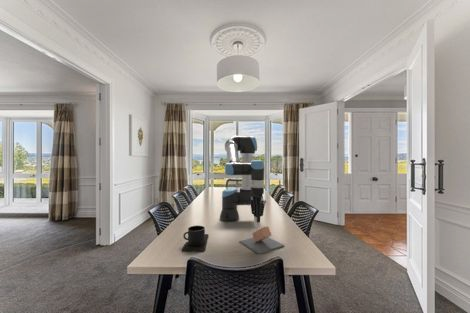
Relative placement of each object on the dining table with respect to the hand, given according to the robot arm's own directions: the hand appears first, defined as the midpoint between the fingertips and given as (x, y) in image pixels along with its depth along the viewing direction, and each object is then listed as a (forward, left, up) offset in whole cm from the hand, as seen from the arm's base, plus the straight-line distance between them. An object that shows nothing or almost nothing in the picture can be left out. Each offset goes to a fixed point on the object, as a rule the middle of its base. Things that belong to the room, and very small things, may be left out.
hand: (257, 227), depth 131 cm
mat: (+4, 0, -9) cm, 9 cm away
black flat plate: (-19, -31, -9) cm, 38 cm away
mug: (-17, -32, -9) cm, 37 cm away
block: (0, 0, -6) cm, 6 cm away
